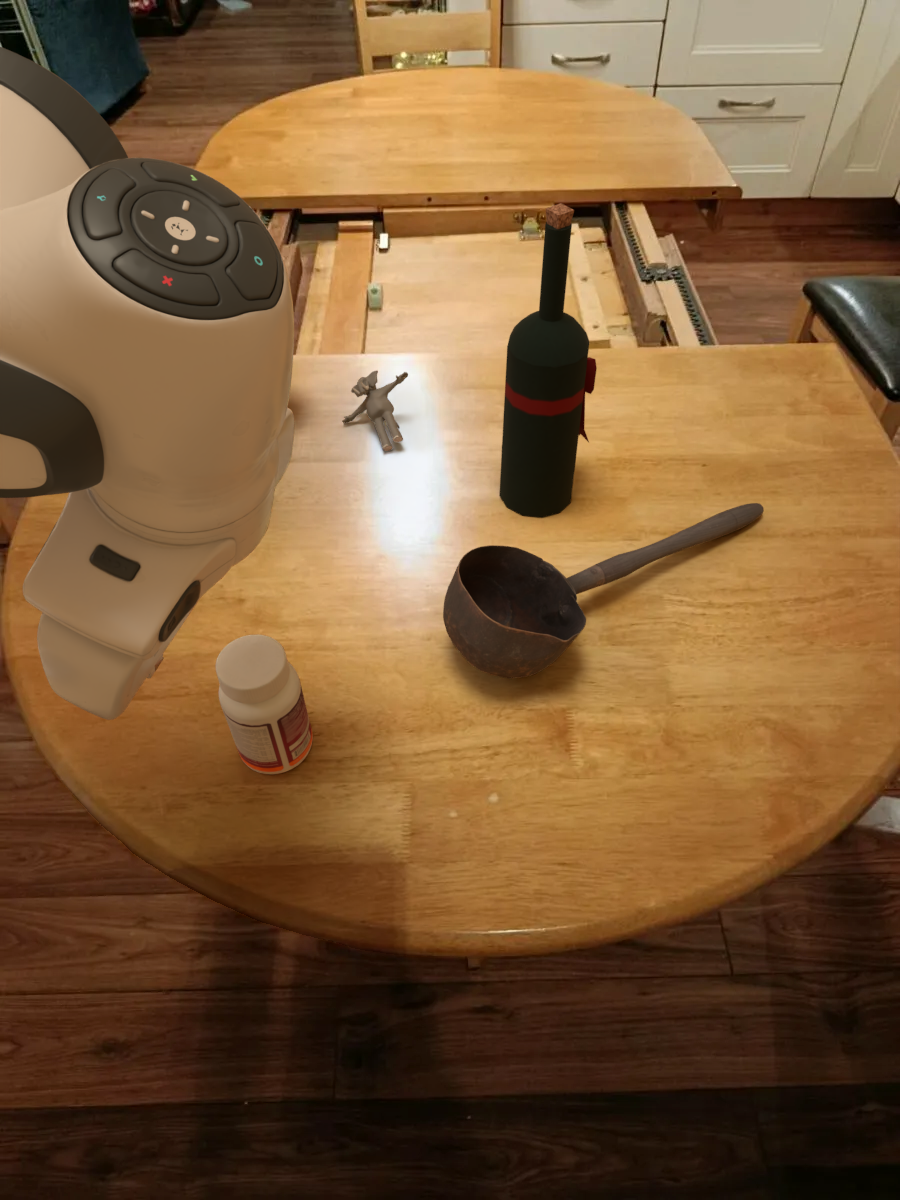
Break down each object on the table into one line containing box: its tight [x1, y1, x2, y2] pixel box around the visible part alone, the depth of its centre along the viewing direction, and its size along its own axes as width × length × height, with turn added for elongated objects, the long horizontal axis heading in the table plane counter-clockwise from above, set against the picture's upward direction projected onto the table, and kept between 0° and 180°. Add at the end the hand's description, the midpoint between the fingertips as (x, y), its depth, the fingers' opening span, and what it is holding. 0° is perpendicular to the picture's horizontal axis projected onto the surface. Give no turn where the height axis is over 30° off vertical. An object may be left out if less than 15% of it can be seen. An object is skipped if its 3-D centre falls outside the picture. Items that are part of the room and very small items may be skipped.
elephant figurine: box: [341, 370, 409, 452], centre depth 97 cm, size 10×6×9 cm
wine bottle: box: [498, 203, 598, 519], centre depth 80 cm, size 8×10×30 cm
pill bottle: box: [214, 633, 314, 775], centre depth 66 cm, size 6×6×11 cm
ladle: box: [442, 502, 765, 679], centre depth 80 cm, size 12×38×10 cm, turn 124°
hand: (185, 603), depth 54 cm, fingers open, 8 cm apart
